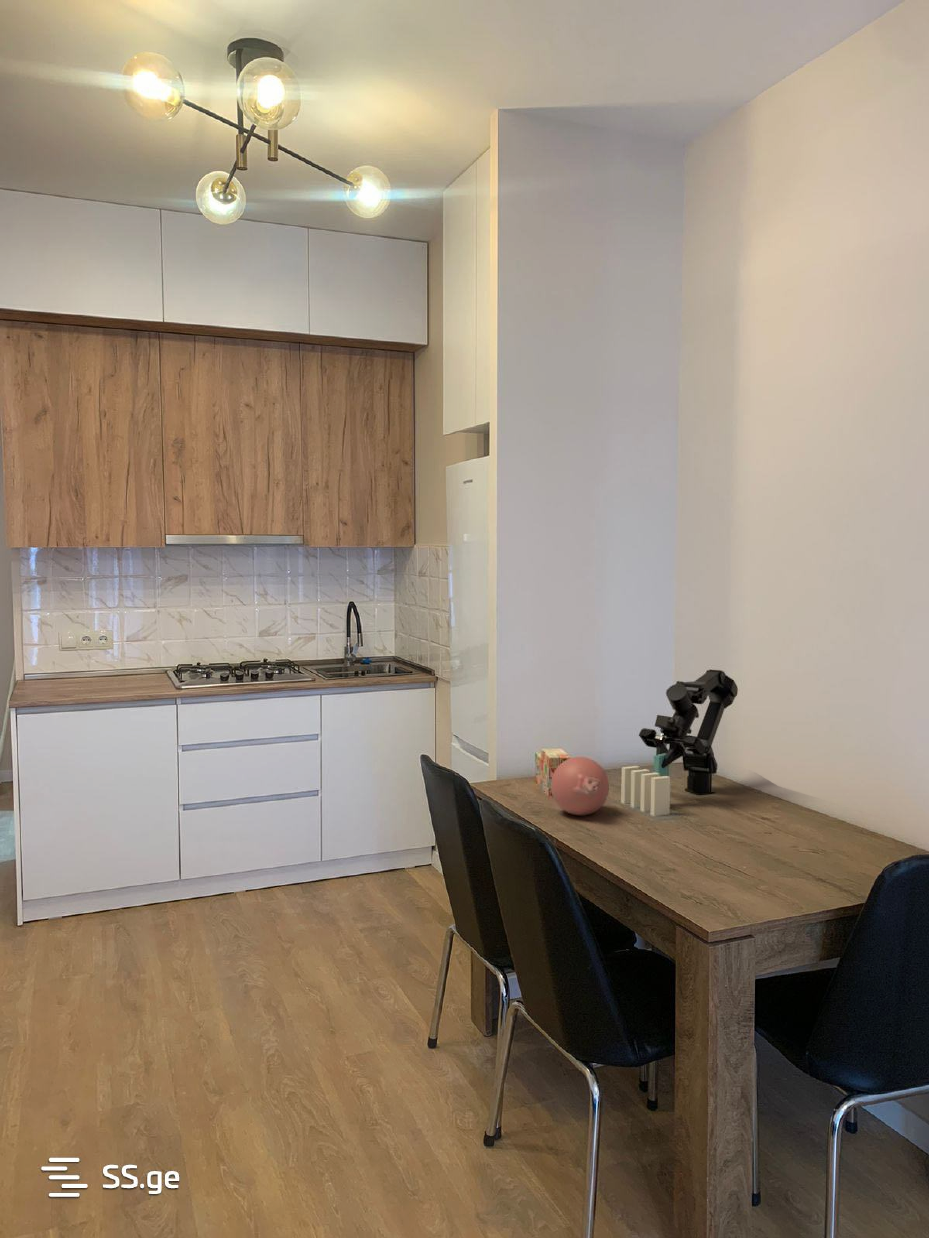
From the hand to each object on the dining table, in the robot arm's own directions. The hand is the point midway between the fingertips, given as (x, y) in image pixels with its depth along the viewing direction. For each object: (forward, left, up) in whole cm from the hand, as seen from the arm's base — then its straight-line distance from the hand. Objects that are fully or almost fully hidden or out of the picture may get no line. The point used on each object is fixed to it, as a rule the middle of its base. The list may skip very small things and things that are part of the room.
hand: (659, 766), depth 255 cm
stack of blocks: (+17, -30, -12) cm, 36 cm away
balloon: (+24, -1, -12) cm, 27 cm away
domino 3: (+4, +2, -11) cm, 12 cm away
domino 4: (+4, +6, -11) cm, 14 cm away
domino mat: (+4, -3, -12) cm, 13 cm away
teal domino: (-1, 0, -7) cm, 7 cm away
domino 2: (+4, -3, -11) cm, 12 cm away
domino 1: (+4, -7, -11) cm, 14 cm away
